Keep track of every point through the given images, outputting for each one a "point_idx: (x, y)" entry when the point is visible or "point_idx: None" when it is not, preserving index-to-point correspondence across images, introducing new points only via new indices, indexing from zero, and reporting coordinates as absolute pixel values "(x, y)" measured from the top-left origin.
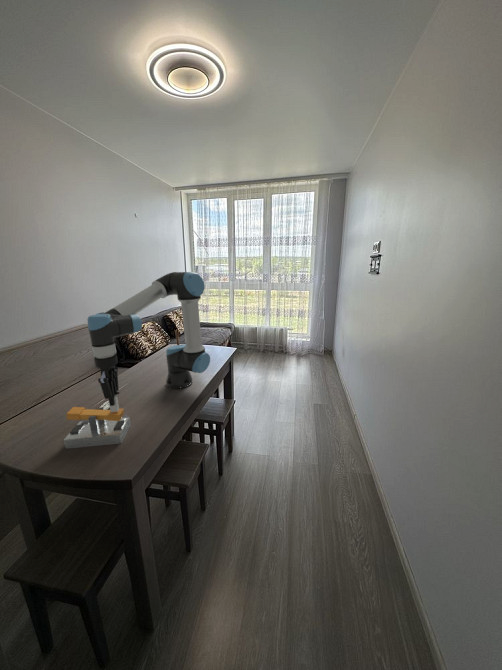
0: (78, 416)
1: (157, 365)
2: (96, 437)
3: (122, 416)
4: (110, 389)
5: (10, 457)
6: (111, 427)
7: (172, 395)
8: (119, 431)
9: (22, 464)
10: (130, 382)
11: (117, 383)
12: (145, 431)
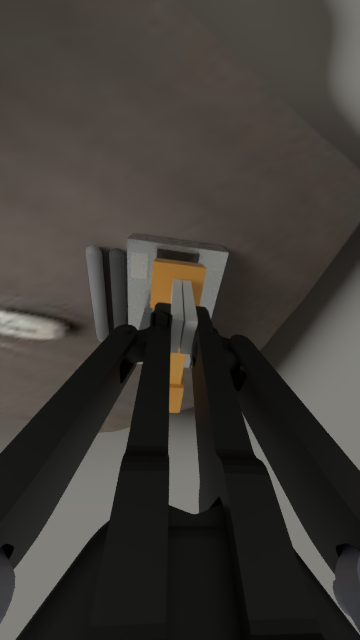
0: (183, 383)
1: None
2: (212, 312)
3: (96, 267)
4: (272, 392)
5: (188, 405)
6: None
7: None
8: (211, 257)
9: None
10: None
11: (101, 364)
12: (181, 168)
